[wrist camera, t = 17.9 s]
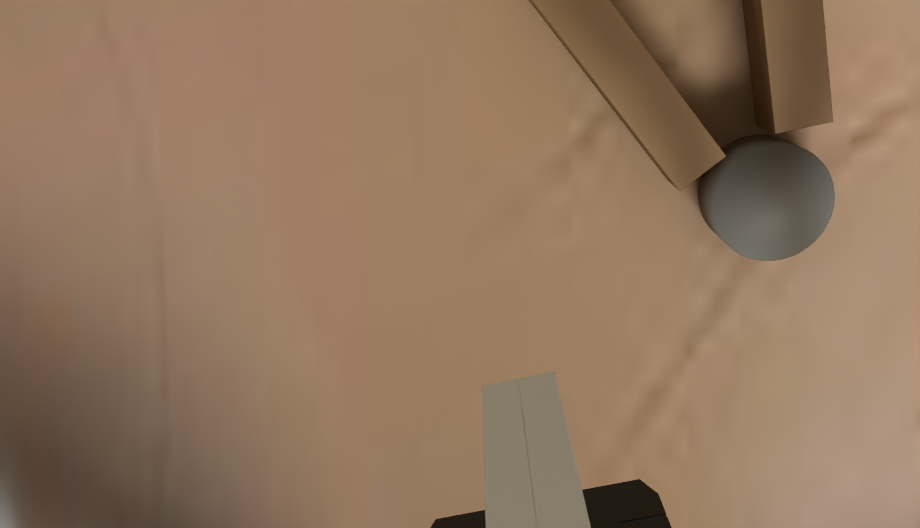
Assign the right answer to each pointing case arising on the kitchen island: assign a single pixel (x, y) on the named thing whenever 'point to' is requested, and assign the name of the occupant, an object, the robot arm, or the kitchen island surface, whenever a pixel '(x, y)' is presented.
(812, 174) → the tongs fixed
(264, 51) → the kitchen island surface
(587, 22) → the long rectangular block
